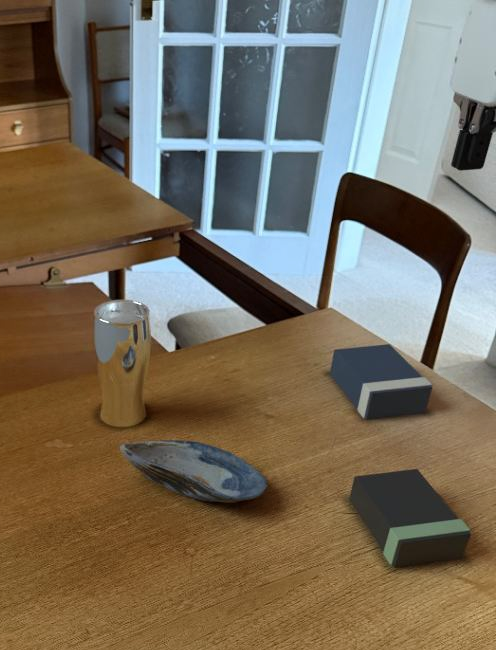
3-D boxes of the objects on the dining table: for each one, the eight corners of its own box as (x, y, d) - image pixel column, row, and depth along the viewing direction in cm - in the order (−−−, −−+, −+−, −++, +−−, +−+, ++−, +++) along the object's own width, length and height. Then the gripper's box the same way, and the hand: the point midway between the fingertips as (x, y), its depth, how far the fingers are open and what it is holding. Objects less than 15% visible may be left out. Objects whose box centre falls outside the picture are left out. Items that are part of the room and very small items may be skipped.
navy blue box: (390, 343, 101) (434, 386, 92) (383, 373, 104) (424, 418, 95) (333, 348, 101) (371, 392, 91) (327, 379, 104) (363, 425, 94)
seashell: (135, 538, 79) (135, 502, 75) (117, 469, 88) (116, 434, 85) (274, 522, 80) (280, 485, 77) (242, 455, 90) (246, 421, 87)
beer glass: (156, 409, 98) (158, 302, 89) (140, 438, 93) (141, 327, 84) (106, 401, 100) (103, 295, 90) (88, 429, 95) (83, 319, 85)
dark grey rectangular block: (418, 467, 80) (473, 532, 72) (409, 498, 83) (461, 564, 75) (353, 475, 80) (400, 542, 71) (346, 506, 82) (390, 573, 74)
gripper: (600, -20, 70) (533, 184, 82) (510, -31, 81) (462, 149, 93) (527, -17, 69) (470, 189, 81) (446, -29, 80) (406, 153, 92)
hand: (466, 167), depth 87 cm, fingers closed
